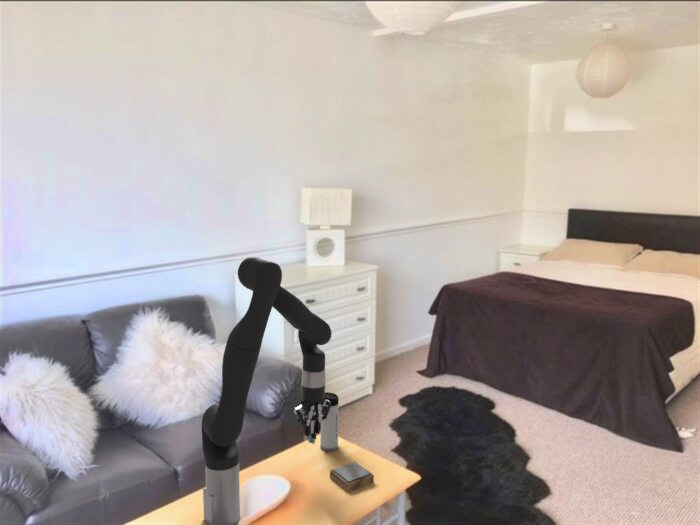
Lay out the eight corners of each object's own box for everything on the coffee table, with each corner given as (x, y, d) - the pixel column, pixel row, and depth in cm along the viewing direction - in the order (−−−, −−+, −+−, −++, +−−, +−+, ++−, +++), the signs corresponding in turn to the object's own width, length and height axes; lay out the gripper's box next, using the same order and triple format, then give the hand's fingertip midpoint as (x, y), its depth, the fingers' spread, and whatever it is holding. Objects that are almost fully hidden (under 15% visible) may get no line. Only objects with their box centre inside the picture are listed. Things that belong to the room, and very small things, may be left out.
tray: (348, 492, 173) (348, 483, 173) (329, 477, 181) (330, 468, 181) (373, 481, 179) (373, 473, 179) (354, 468, 187) (354, 460, 187)
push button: (321, 444, 178) (322, 414, 176) (305, 446, 176) (306, 416, 175) (316, 435, 184) (317, 406, 182) (300, 437, 182) (301, 407, 181)
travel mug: (317, 444, 203) (318, 391, 200) (335, 441, 205) (335, 389, 202) (321, 452, 197) (322, 398, 194) (339, 450, 199) (340, 396, 196)
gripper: (300, 390, 170) (299, 444, 173) (338, 382, 178) (336, 433, 181) (287, 383, 176) (286, 435, 179) (325, 375, 184) (323, 424, 187)
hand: (311, 433), depth 180 cm, fingers closed on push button, 3 cm apart
